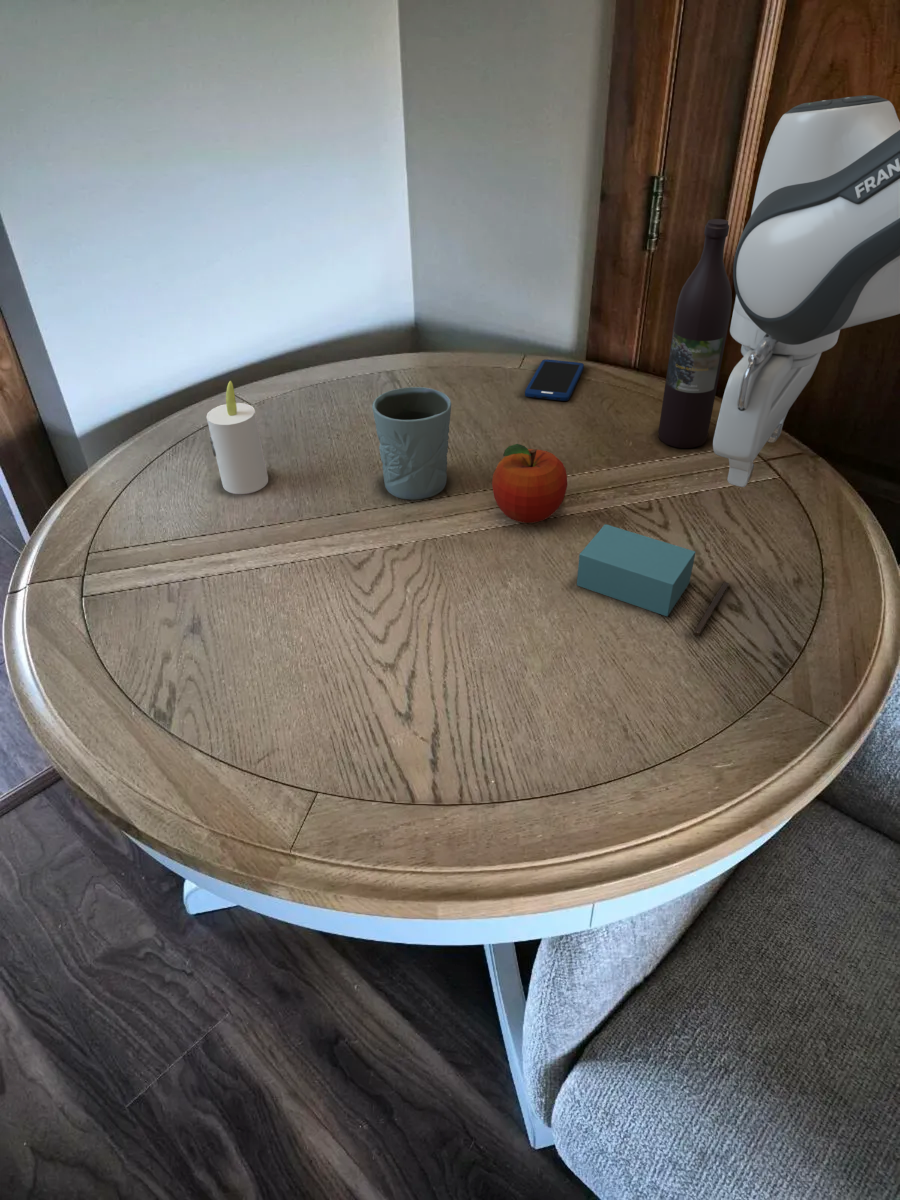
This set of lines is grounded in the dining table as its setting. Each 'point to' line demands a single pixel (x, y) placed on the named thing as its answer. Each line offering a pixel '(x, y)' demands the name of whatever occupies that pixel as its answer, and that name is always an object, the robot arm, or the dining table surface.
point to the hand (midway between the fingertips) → (754, 459)
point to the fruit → (529, 484)
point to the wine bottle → (697, 345)
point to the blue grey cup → (413, 440)
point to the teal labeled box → (635, 569)
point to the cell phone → (554, 380)
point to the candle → (237, 445)
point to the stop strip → (711, 609)
